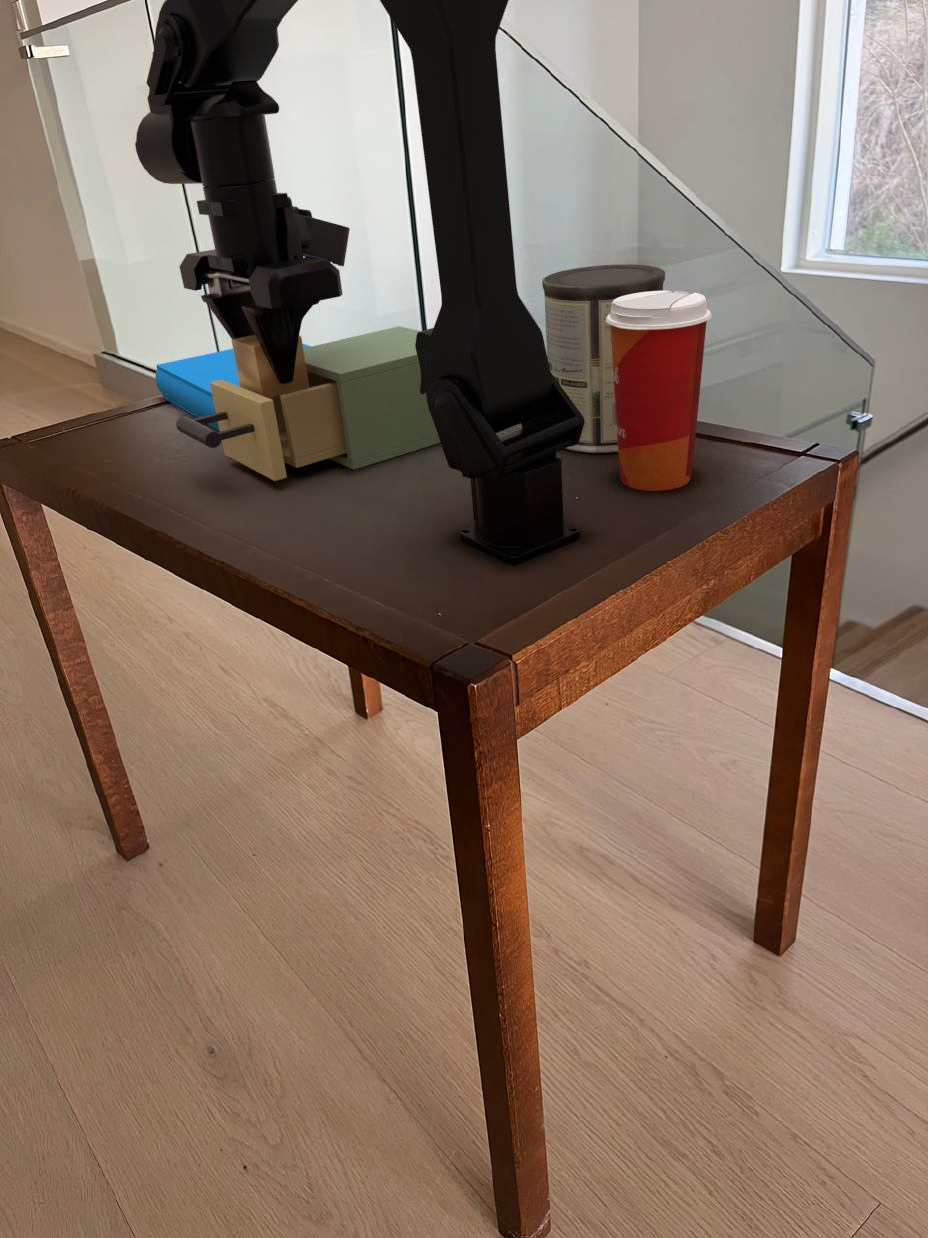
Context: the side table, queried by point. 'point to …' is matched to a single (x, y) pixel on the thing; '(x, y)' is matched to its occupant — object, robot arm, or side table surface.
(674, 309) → the paper cup
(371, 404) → the cabinet
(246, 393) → the drawer
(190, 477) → the side table surface
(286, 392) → the block
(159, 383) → the book
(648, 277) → the coffee can
